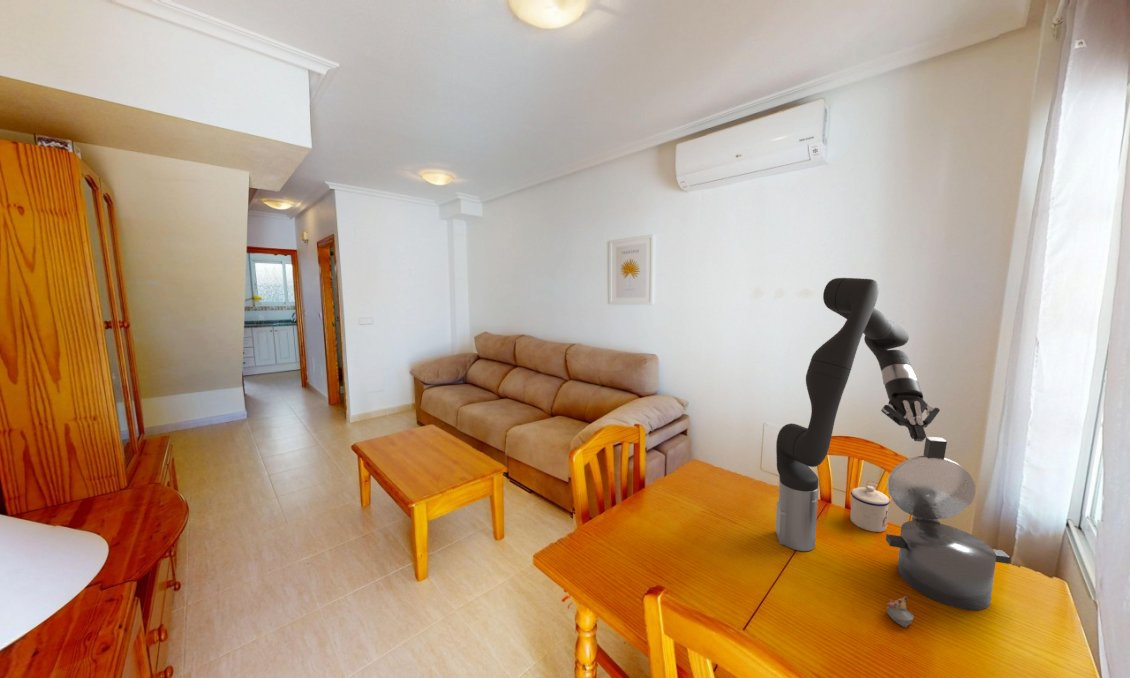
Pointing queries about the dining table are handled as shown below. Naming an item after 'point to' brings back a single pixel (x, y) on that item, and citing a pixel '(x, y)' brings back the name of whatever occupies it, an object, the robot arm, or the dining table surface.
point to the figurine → (900, 612)
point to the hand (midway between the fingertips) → (919, 440)
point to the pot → (946, 563)
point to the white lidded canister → (869, 509)
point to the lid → (931, 484)
